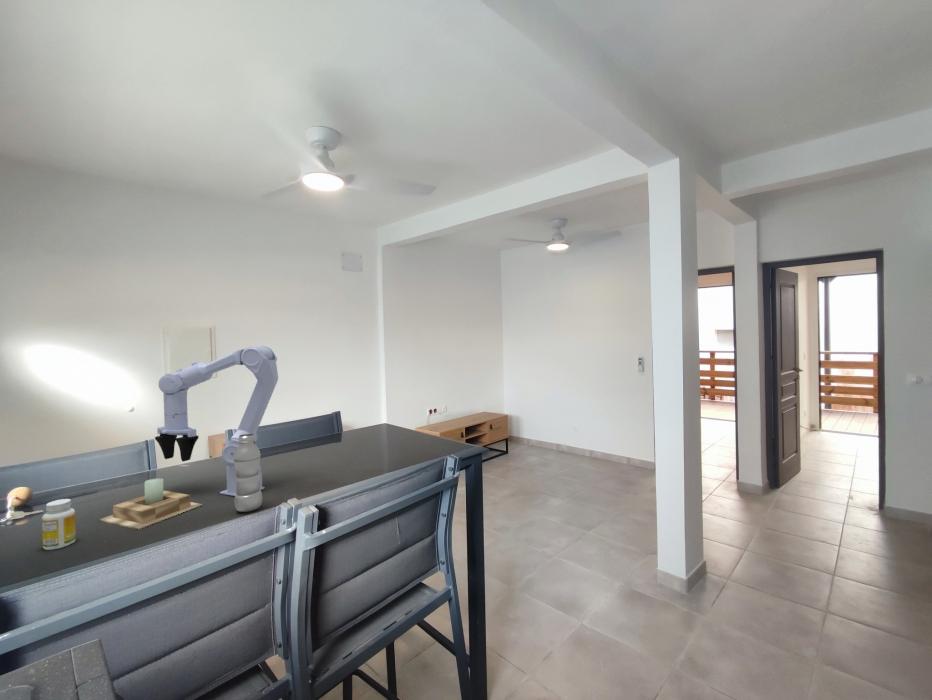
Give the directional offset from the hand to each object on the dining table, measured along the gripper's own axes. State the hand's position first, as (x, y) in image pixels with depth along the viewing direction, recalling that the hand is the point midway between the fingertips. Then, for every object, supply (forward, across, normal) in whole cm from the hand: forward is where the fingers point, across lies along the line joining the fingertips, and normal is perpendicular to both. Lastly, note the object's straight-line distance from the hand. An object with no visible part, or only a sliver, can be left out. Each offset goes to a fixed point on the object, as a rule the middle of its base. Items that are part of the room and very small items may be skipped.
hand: (177, 459), depth 126 cm
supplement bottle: (+11, +7, -31) cm, 34 cm away
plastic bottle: (+11, +31, -2) cm, 33 cm away
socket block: (+10, +8, -12) cm, 18 cm away
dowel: (+10, +8, -12) cm, 17 cm away
